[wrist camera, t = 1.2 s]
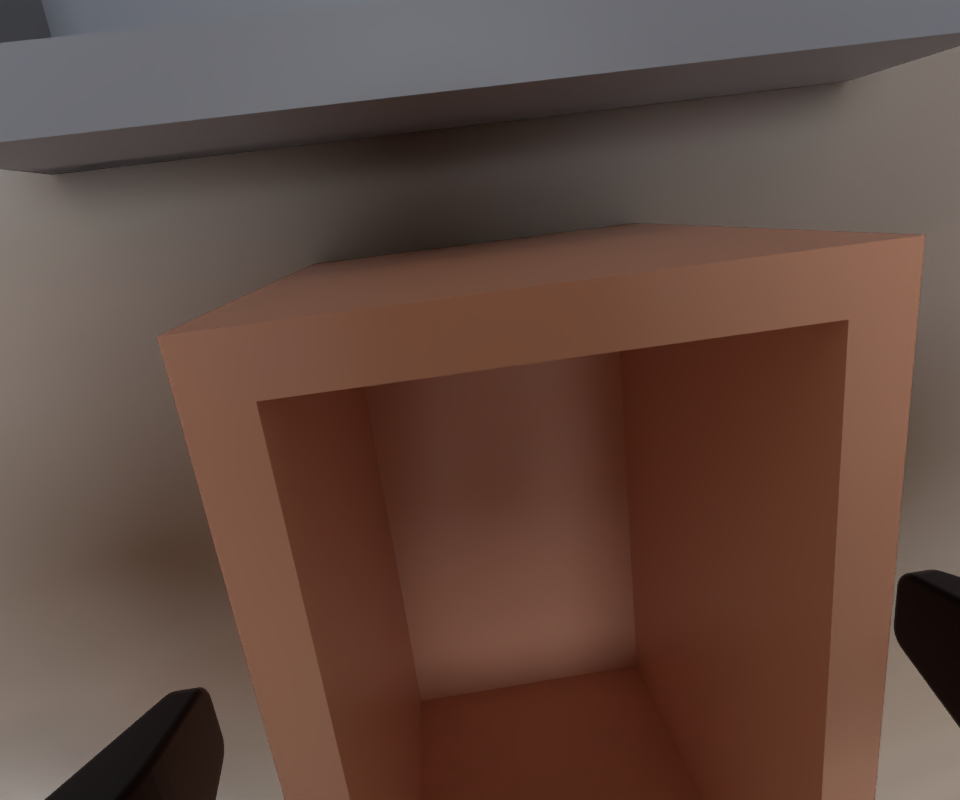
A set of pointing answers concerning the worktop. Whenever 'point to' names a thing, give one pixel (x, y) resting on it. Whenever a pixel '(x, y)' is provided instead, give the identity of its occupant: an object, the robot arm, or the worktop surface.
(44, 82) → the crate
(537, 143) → the worktop surface
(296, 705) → the box
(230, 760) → the worktop surface
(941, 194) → the worktop surface
